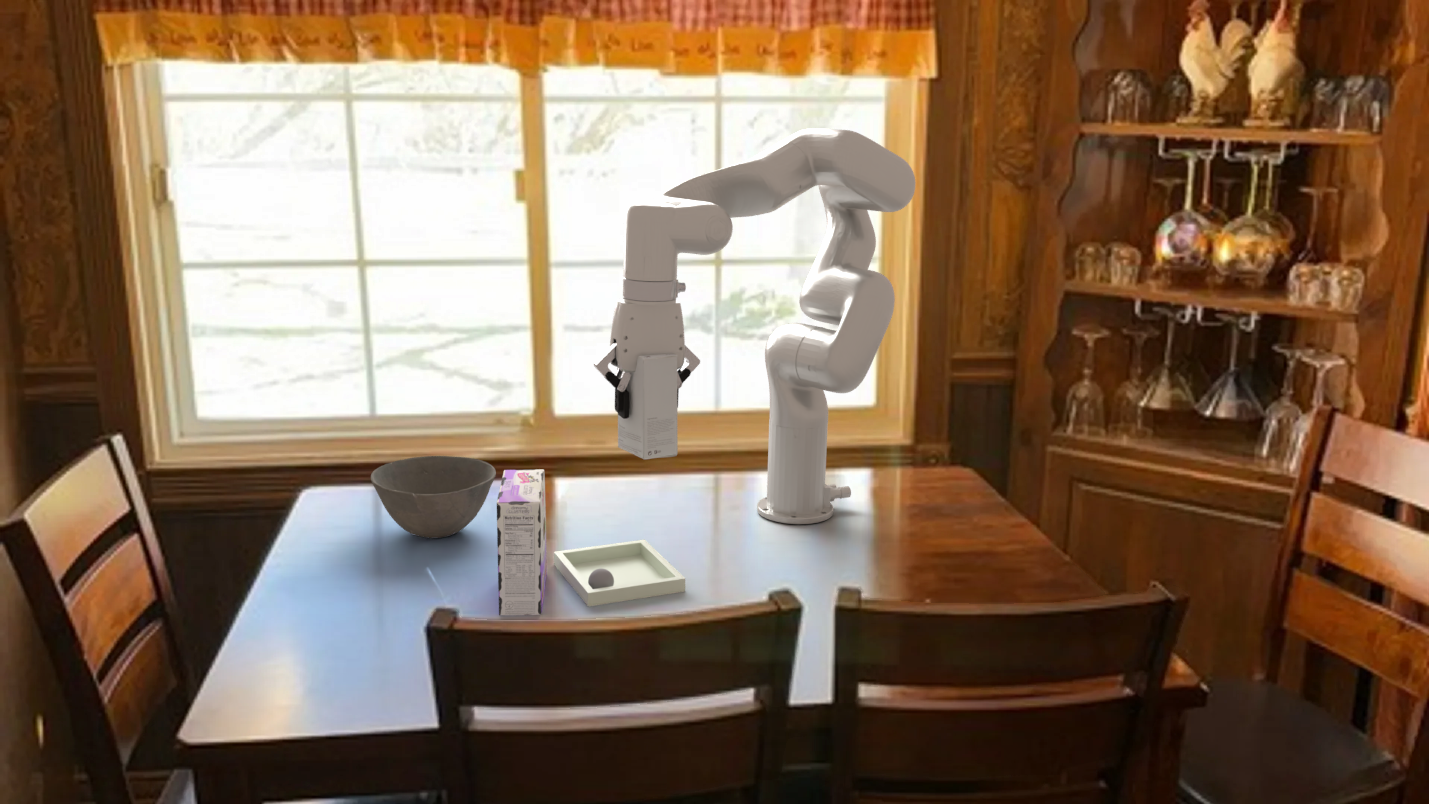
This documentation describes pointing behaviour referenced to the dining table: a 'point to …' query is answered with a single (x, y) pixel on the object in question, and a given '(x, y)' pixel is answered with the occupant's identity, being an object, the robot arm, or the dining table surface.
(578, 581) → the tray
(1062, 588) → the dining table surface
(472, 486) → the bowl
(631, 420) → the skincare box
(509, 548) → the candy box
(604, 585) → the ball
